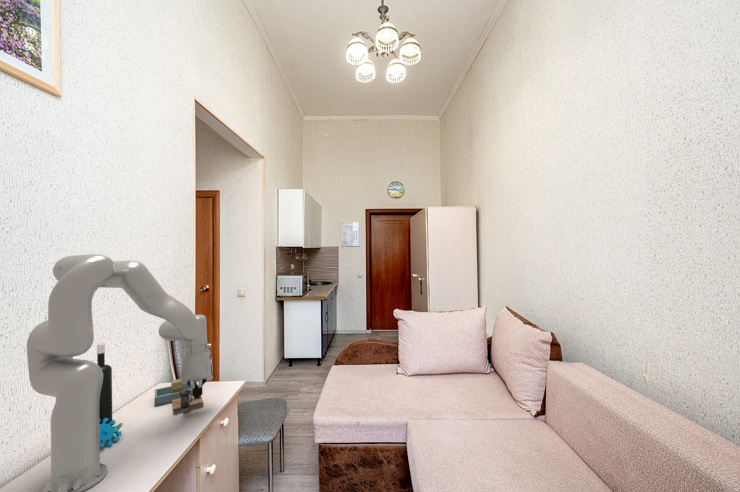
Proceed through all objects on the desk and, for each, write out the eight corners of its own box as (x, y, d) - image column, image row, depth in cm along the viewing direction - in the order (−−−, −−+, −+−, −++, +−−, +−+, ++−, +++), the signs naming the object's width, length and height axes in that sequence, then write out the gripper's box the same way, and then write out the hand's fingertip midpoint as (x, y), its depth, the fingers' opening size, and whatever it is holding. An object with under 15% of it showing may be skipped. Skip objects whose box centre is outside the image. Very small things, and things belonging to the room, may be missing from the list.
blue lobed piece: (94, 451, 97) (81, 422, 100) (82, 464, 97) (69, 436, 100) (131, 436, 107) (118, 411, 110) (120, 448, 108) (107, 423, 111)
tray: (199, 396, 137) (198, 388, 137) (154, 407, 129) (154, 398, 129) (196, 388, 146) (196, 380, 146) (154, 397, 137) (154, 389, 137)
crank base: (203, 407, 127) (203, 401, 127) (173, 415, 121) (173, 409, 121) (200, 398, 135) (200, 393, 135) (172, 405, 129) (172, 399, 130)
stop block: (182, 395, 137) (182, 381, 137) (171, 398, 134) (171, 383, 135) (182, 392, 140) (182, 378, 140) (171, 395, 138) (171, 380, 138)
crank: (182, 399, 129) (182, 381, 129) (193, 397, 130) (192, 380, 131) (178, 413, 117) (178, 394, 117) (190, 411, 118) (189, 392, 118)
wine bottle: (106, 434, 109) (105, 344, 110) (86, 437, 108) (85, 346, 109) (115, 425, 115) (114, 340, 116) (96, 428, 113) (96, 341, 114)
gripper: (219, 343, 127) (221, 390, 127) (177, 347, 124) (179, 396, 124) (215, 349, 120) (217, 398, 120) (170, 353, 117) (172, 405, 116)
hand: (197, 397), depth 122 cm, fingers closed
